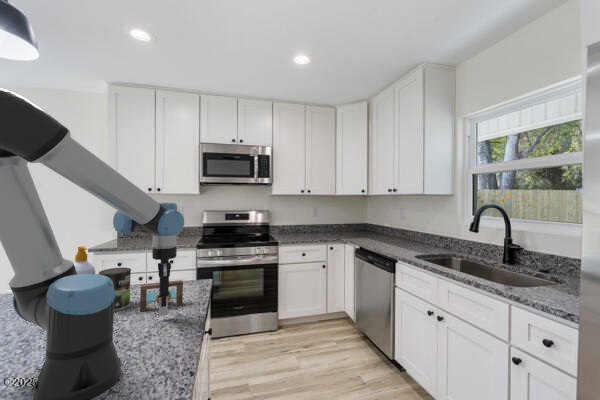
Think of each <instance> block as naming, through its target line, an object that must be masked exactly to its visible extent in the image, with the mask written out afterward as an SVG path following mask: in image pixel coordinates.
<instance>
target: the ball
mask: <svg viewBox="0 0 600 400" xmlns="http://www.w3.org/2000/svg"><path fill="white" fill-rule="evenodd" d="M168 292H169V291H168ZM159 293H160V292H159ZM159 293H158V294H157V295H160V294H159ZM157 295H156V301H155V302H156V303H157V304H158V305H159V298H157ZM170 300H171V294H169V295H168V303H169V302H170Z"/></svg>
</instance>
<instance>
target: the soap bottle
mask: <svg viewBox="0 0 600 400" xmlns="http://www.w3.org/2000/svg"><path fill="white" fill-rule="evenodd" d="M86 250H87V247H86V245H85V246H84V245H81V246H79V245H78V246H77V252H76V254H75V257H74V258H75V259H74V262H73V263H74V266H75V268H76V271H77V274H92V275H94V274H96V269H95V266H94V265H93V263H91V262H90V261H88V253H87V252H86Z"/></svg>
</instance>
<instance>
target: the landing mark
mask: <svg viewBox="0 0 600 400" xmlns="http://www.w3.org/2000/svg"><path fill="white" fill-rule="evenodd" d="M159 292H160V291H159V290H158V291H153V292H151V291H150V292H147V301H146V303H151V302H156V295H157V294H158V293H159ZM169 292H170V294H171V299H176V293H177V291H176V290H175V288H174V289H169ZM171 299H170V300H171Z"/></svg>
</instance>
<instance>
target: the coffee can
mask: <svg viewBox="0 0 600 400" xmlns="http://www.w3.org/2000/svg"><path fill="white" fill-rule="evenodd" d="M131 271H132V268H129V267H113V268H106V269H103V270H100V271H99V272H98V274H99V275H104V276H107V277H109V278H110V279H111V280H112V281H113V284H114V291H115V298H114V312H117V311H122V310H124V309H126V308H129V306H130V305H131Z"/></svg>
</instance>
